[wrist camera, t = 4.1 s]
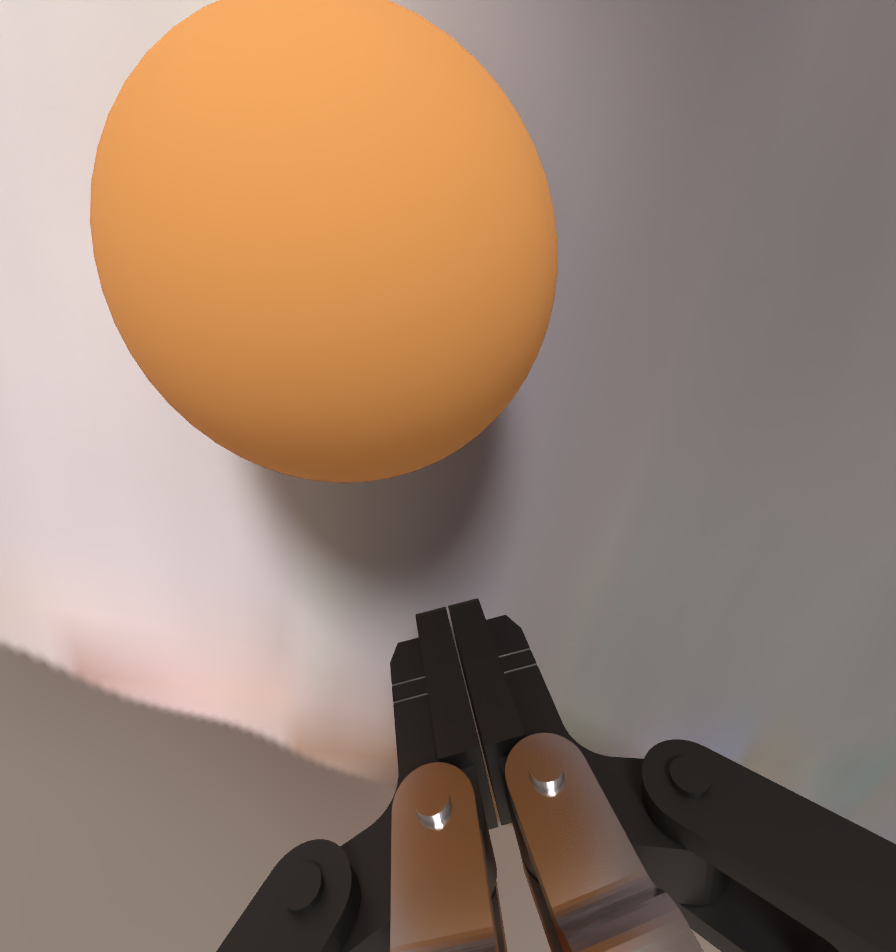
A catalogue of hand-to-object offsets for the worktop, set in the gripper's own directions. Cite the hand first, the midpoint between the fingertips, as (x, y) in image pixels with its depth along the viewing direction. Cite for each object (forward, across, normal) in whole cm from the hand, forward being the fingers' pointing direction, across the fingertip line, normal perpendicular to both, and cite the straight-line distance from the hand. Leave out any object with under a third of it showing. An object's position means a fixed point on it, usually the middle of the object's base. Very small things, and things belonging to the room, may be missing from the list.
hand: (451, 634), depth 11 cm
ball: (-1, 0, -8) cm, 8 cm away
